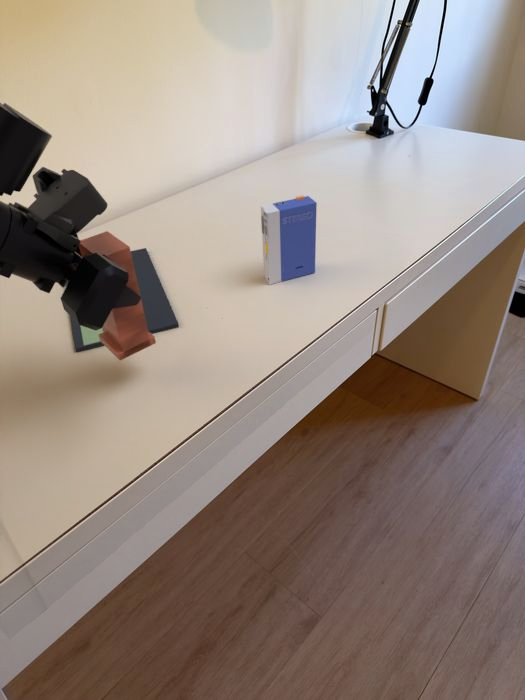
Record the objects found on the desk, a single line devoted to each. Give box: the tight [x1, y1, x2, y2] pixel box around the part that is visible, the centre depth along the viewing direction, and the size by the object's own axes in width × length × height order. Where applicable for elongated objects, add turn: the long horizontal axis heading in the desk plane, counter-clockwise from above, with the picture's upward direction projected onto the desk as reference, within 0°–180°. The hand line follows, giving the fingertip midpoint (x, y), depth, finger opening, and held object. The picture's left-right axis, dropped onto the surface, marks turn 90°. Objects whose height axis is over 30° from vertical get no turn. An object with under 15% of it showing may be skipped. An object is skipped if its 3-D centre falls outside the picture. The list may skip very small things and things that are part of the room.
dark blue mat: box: [69, 247, 180, 353], centre depth 80 cm, size 24×14×1 cm, turn 21°
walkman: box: [260, 194, 318, 285], centre depth 79 cm, size 8×3×12 cm, turn 112°
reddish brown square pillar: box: [79, 230, 157, 361], centre depth 59 cm, size 5×5×13 cm
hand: (127, 291), depth 59 cm, fingers closed on reddish brown square pillar, 5 cm apart
